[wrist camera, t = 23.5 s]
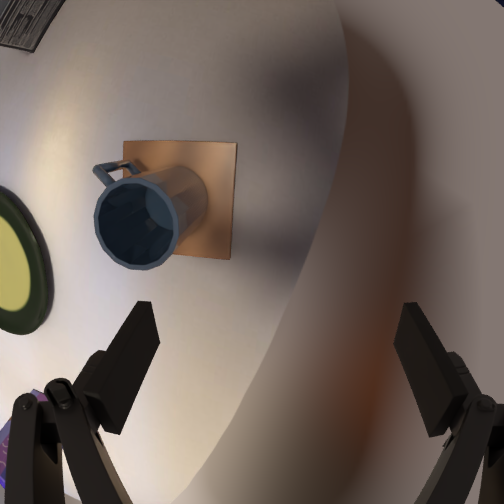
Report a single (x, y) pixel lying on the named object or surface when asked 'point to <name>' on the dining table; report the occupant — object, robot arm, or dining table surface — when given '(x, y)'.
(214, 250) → the cork mat
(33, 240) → the plate
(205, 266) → the dining table surface
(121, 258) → the mug
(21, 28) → the small box
